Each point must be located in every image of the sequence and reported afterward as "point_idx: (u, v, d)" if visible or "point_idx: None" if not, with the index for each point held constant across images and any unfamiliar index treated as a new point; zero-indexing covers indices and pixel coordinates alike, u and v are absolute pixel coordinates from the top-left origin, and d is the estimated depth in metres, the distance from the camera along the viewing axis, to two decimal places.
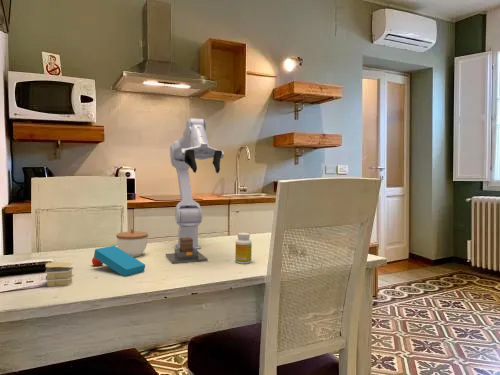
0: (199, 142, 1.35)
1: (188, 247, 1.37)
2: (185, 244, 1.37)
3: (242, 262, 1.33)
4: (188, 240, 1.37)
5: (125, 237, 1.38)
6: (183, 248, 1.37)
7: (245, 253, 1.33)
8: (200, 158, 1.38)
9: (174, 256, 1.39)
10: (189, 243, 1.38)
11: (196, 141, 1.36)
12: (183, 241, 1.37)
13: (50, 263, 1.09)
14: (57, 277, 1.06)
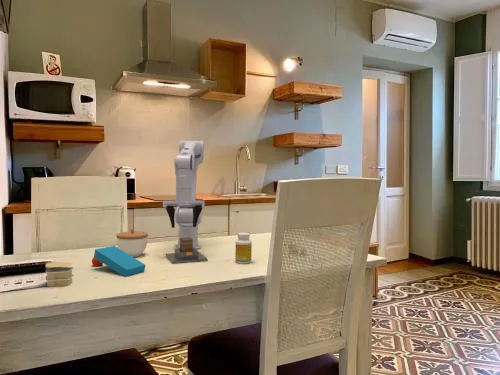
0: (182, 197, 1.39)
1: (188, 247, 1.37)
2: (185, 244, 1.37)
3: (242, 262, 1.33)
4: (188, 240, 1.37)
5: (125, 237, 1.38)
6: (183, 248, 1.37)
7: (245, 253, 1.33)
8: None
9: (174, 256, 1.39)
10: (189, 243, 1.38)
11: (179, 193, 1.39)
12: (183, 241, 1.37)
13: (50, 263, 1.09)
14: (57, 277, 1.06)
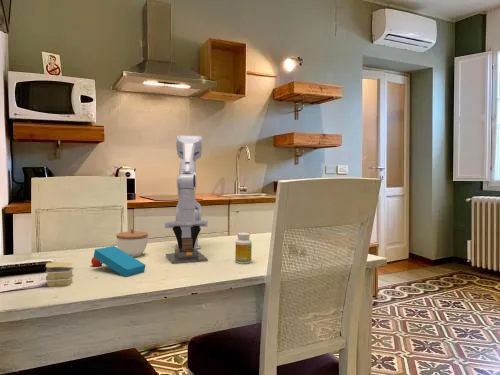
0: (184, 217, 1.36)
1: (188, 247, 1.37)
2: (185, 244, 1.37)
3: (242, 262, 1.33)
4: (188, 240, 1.37)
5: (125, 237, 1.38)
6: (183, 248, 1.37)
7: (245, 253, 1.33)
8: None
9: (174, 256, 1.39)
10: (189, 243, 1.38)
11: (182, 214, 1.36)
12: (183, 241, 1.37)
13: (50, 263, 1.09)
14: (57, 277, 1.06)
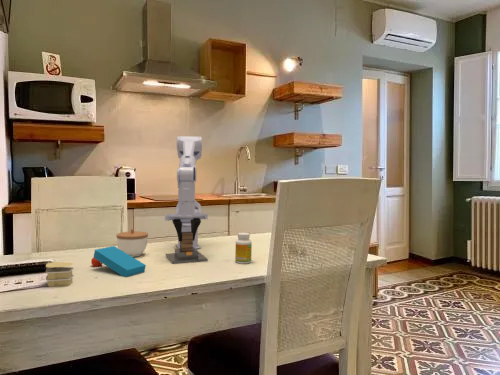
0: (184, 210, 1.36)
1: (188, 241, 1.37)
2: (185, 238, 1.37)
3: (242, 262, 1.33)
4: (188, 234, 1.37)
5: (125, 237, 1.38)
6: (183, 242, 1.37)
7: (245, 253, 1.33)
8: None
9: (174, 256, 1.39)
10: (189, 237, 1.37)
11: (182, 206, 1.36)
12: (183, 235, 1.37)
13: (50, 263, 1.09)
14: (57, 277, 1.06)
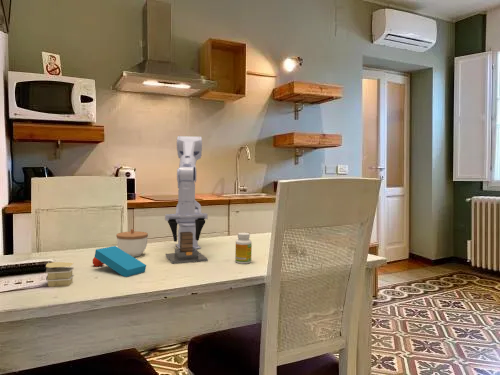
0: (184, 210, 1.36)
1: (188, 241, 1.37)
2: (185, 238, 1.37)
3: (242, 262, 1.33)
4: (188, 234, 1.37)
5: (125, 237, 1.38)
6: (183, 242, 1.37)
7: (245, 253, 1.33)
8: None
9: (174, 256, 1.39)
10: (189, 237, 1.37)
11: (182, 206, 1.36)
12: (183, 235, 1.37)
13: (51, 263, 1.09)
14: (57, 277, 1.06)
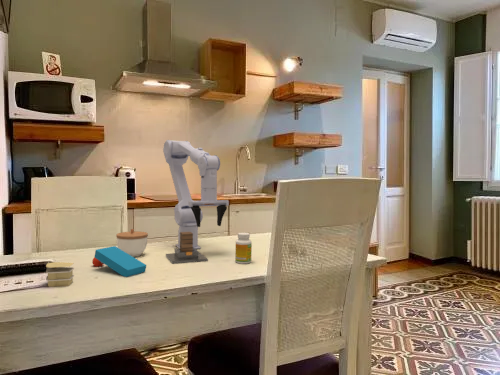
0: (207, 196, 1.42)
1: (188, 241, 1.37)
2: (185, 238, 1.37)
3: (242, 262, 1.33)
4: (188, 234, 1.37)
5: (125, 237, 1.38)
6: (183, 242, 1.37)
7: (245, 253, 1.33)
8: None
9: (174, 256, 1.39)
10: (189, 237, 1.37)
11: (205, 193, 1.42)
12: (183, 235, 1.37)
13: (51, 263, 1.09)
14: (58, 277, 1.06)
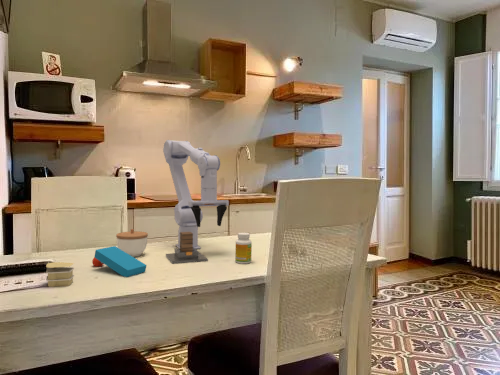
0: (207, 196, 1.42)
1: (188, 241, 1.37)
2: (185, 238, 1.37)
3: (242, 262, 1.33)
4: (188, 234, 1.37)
5: (125, 237, 1.38)
6: (183, 242, 1.37)
7: (245, 253, 1.33)
8: None
9: (174, 256, 1.39)
10: (189, 237, 1.37)
11: (205, 193, 1.42)
12: (183, 235, 1.37)
13: (51, 263, 1.09)
14: (58, 277, 1.06)
